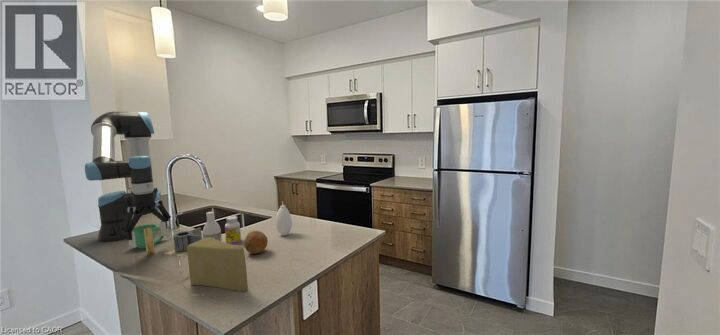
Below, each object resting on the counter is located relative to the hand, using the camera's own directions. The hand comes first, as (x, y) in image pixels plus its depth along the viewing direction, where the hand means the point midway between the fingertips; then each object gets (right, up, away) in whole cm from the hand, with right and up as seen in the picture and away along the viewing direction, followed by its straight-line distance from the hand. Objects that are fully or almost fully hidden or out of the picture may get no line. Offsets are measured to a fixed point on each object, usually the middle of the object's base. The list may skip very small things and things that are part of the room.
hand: (149, 241), depth 131 cm
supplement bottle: (+30, -5, +15) cm, 34 cm away
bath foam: (+29, -7, -2) cm, 30 cm away
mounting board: (+14, -6, +7) cm, 17 cm away
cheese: (+43, -10, -24) cm, 50 cm away
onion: (+45, -6, +3) cm, 46 cm away
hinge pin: (0, -7, +1) cm, 7 cm away
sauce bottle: (+52, -3, +25) cm, 58 cm away
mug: (-8, -6, +14) cm, 17 cm away
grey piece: (+15, -5, +8) cm, 18 cm away
